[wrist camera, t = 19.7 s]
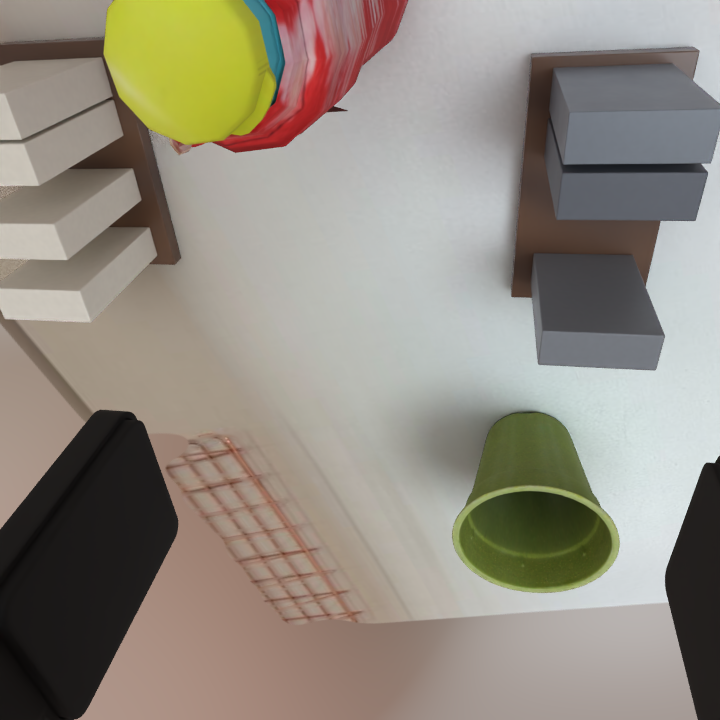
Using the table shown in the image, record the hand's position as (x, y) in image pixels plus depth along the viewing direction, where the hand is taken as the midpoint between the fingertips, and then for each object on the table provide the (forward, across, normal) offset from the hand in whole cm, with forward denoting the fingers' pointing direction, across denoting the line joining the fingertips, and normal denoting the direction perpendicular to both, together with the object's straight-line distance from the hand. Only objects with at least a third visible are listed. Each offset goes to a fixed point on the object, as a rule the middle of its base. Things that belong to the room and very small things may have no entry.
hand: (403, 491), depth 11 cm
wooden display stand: (+34, +27, +5) cm, 44 cm away
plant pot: (+34, -6, +30) cm, 46 cm away
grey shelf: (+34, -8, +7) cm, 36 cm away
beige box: (+33, +27, +6) cm, 43 cm away
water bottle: (+34, +8, -4) cm, 36 cm away
